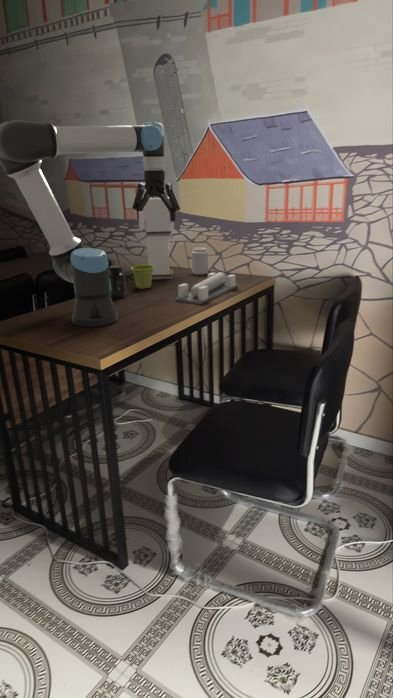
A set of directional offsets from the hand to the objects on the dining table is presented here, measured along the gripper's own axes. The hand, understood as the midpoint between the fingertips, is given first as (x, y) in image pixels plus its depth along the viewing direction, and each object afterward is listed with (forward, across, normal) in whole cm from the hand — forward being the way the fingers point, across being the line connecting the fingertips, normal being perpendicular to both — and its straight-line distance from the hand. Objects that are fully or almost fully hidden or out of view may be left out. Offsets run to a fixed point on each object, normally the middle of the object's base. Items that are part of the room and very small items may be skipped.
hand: (156, 229), depth 186 cm
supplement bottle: (+26, +15, +7) cm, 31 cm away
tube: (+25, -15, -13) cm, 32 cm away
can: (+25, +8, -43) cm, 50 cm away
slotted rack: (+26, -15, -13) cm, 32 cm away
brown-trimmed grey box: (+26, +21, -30) cm, 45 cm away
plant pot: (+26, +15, -10) cm, 32 cm away
